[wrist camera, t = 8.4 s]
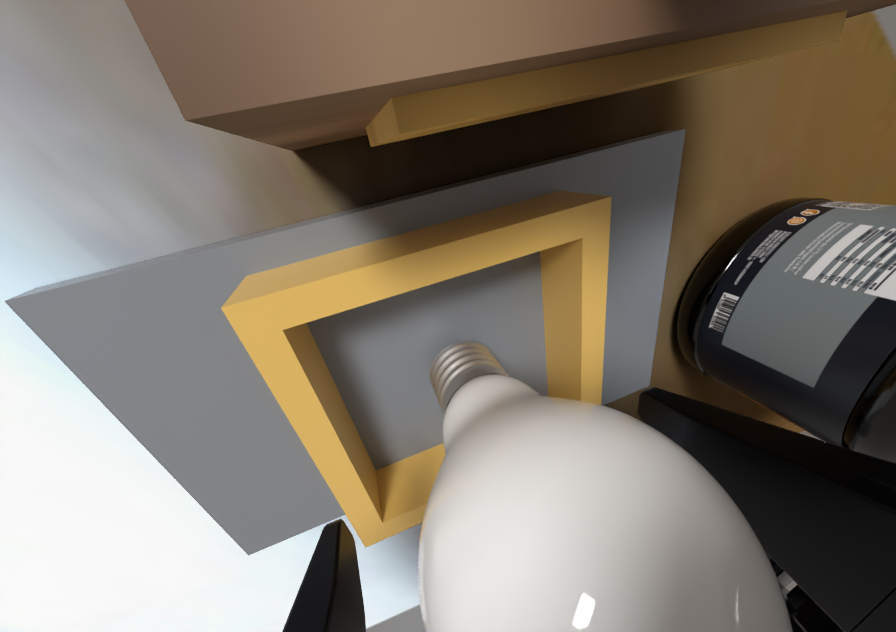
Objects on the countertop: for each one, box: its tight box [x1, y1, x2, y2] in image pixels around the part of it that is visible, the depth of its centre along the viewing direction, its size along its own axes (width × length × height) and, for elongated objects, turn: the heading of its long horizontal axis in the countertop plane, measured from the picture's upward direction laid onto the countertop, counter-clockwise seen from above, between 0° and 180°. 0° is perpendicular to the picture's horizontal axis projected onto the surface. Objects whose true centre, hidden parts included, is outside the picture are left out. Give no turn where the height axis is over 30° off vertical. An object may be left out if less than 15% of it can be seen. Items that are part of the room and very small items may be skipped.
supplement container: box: [677, 198, 896, 463], centre depth 14 cm, size 10×10×12 cm
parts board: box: [5, 129, 686, 555], centre depth 13 cm, size 22×13×4 cm, turn 102°
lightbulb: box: [418, 340, 793, 632], centre depth 9 cm, size 6×6×11 cm
